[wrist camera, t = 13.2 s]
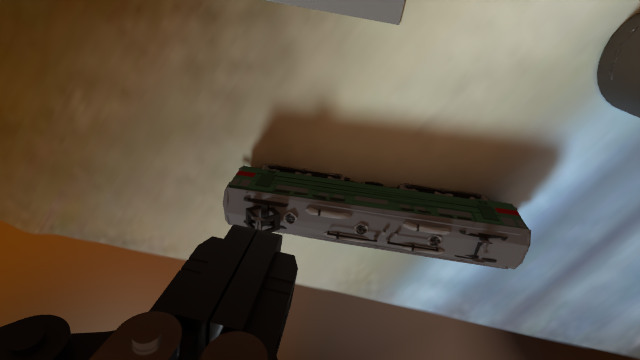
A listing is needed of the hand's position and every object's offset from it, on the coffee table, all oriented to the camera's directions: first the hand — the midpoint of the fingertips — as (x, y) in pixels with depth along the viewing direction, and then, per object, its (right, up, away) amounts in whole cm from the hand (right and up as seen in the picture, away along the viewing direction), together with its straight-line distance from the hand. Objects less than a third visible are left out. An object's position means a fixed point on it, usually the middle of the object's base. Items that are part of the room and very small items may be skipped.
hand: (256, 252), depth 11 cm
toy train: (+8, +1, +29) cm, 30 cm away
